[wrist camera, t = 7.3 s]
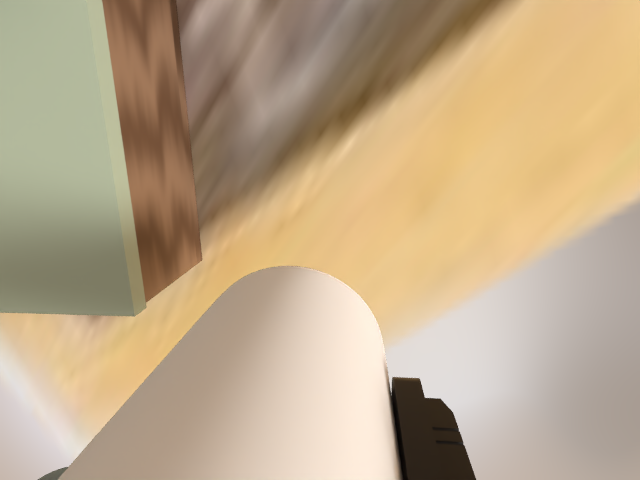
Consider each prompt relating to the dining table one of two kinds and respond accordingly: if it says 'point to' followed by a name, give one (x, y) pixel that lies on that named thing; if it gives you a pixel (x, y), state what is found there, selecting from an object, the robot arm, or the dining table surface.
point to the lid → (63, 166)
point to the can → (260, 393)
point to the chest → (155, 136)
